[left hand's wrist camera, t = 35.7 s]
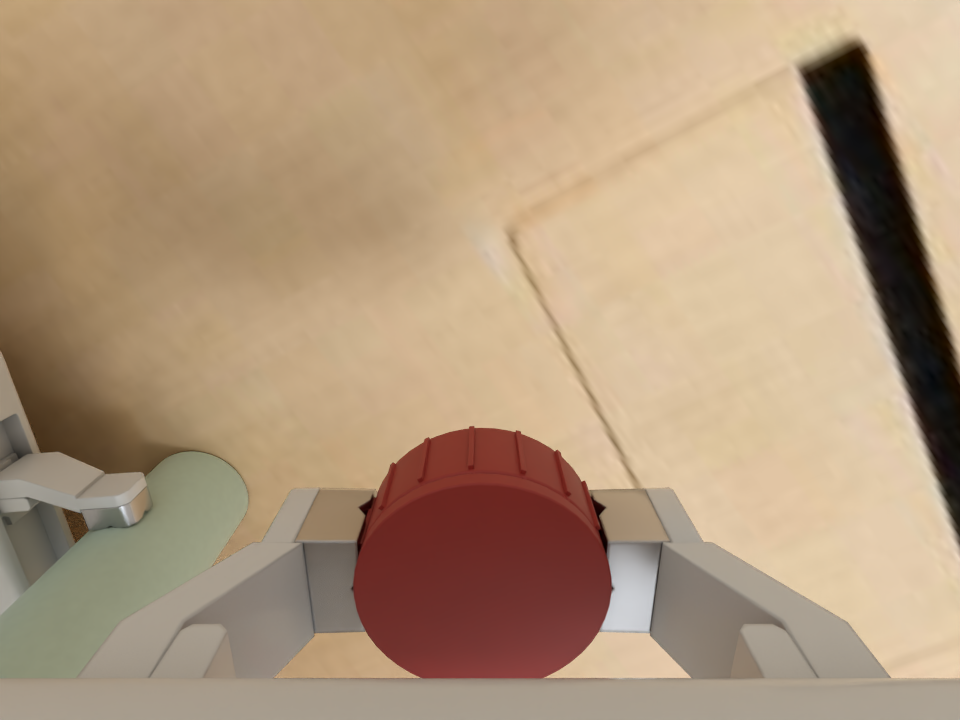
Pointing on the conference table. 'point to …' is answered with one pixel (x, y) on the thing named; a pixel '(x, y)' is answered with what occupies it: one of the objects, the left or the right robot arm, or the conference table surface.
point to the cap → (482, 559)
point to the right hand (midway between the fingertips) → (162, 562)
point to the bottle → (123, 568)
